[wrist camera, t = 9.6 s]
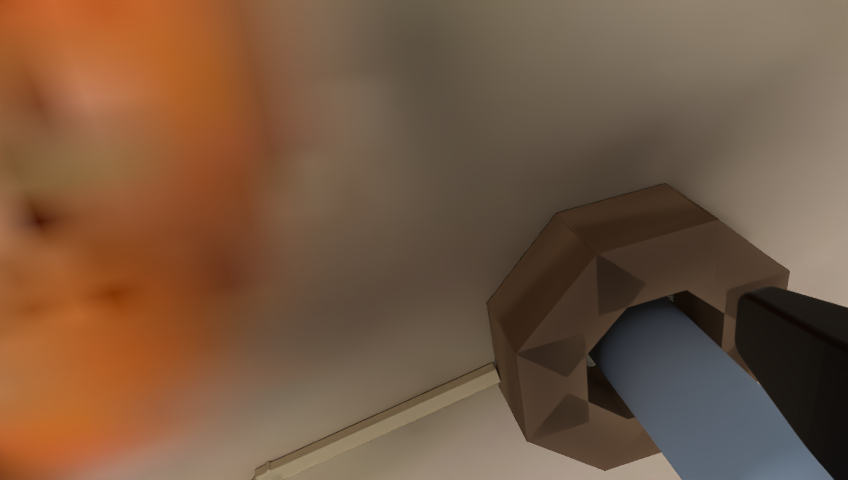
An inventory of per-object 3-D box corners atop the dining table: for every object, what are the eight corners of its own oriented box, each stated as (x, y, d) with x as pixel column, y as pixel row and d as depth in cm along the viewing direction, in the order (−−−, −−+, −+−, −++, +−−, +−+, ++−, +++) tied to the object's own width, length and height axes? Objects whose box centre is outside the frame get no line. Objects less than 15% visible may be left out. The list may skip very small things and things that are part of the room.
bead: (739, 162, 22) (801, 195, 20) (720, 369, 27) (768, 417, 25) (476, 234, 21) (506, 279, 19) (506, 437, 26) (533, 494, 24)
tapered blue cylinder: (656, 260, 24) (848, 429, 16) (654, 333, 26) (827, 517, 18) (568, 286, 23) (723, 472, 16) (573, 358, 25) (714, 558, 17)
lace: (469, 332, 23) (472, 338, 23) (500, 373, 25) (503, 380, 24) (149, 537, 24) (147, 546, 24) (195, 566, 26) (194, 575, 25)
